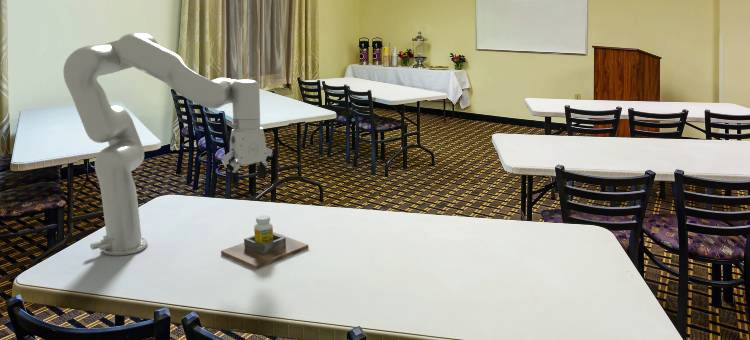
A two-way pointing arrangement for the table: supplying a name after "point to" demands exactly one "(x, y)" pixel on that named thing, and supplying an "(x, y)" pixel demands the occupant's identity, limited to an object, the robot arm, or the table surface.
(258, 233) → the supplement bottle
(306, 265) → the table surface
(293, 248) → the board with square frame
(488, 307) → the table surface
